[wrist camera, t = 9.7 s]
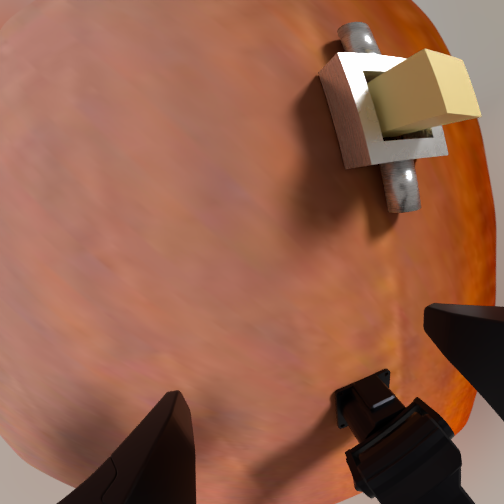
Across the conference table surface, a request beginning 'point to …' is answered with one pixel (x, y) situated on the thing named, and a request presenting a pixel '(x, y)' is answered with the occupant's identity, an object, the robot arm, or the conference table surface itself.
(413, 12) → the conference table surface
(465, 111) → the butter yellow block
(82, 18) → the conference table surface
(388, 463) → the robot arm
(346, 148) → the bracket head
